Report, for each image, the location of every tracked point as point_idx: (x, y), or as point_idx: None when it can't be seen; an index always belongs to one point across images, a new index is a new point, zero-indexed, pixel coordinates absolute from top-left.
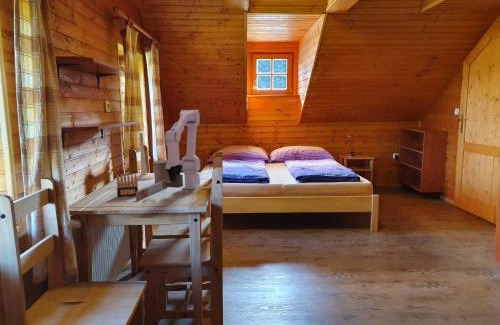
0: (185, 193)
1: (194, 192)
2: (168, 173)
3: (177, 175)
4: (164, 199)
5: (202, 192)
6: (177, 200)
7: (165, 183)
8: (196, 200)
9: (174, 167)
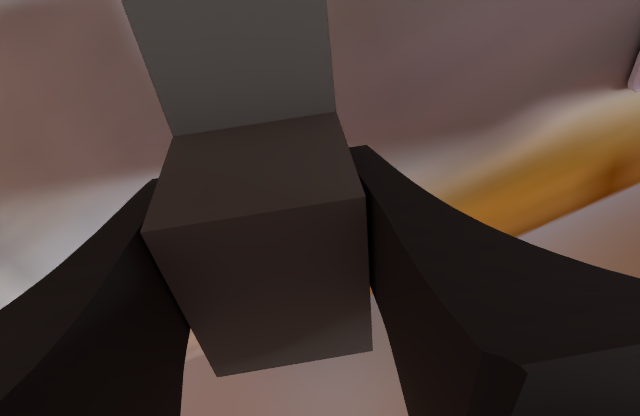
0: (434, 90)
1: (485, 153)
2: (4, 321)
3: (267, 328)
4: (80, 14)
5: (488, 214)
6: (143, 182)
7: (131, 3)
8: None
9: (449, 412)
